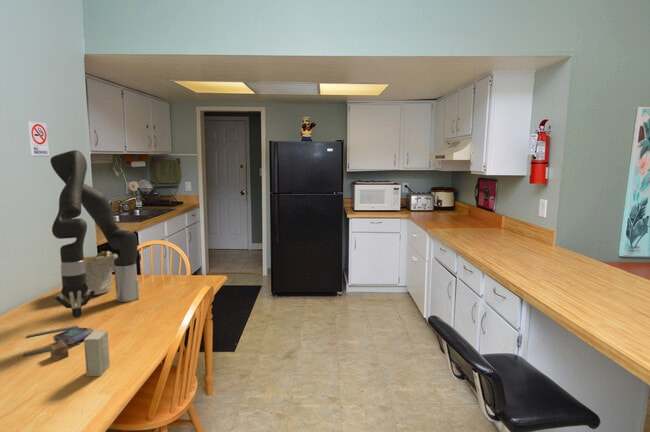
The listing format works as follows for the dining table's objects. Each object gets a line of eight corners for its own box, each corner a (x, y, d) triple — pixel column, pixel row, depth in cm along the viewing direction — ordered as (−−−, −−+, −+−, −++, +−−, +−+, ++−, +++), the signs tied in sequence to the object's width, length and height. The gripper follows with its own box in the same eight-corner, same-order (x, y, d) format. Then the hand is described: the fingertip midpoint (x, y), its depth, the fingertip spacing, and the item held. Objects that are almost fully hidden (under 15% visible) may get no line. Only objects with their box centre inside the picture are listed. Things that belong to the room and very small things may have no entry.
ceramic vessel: (42, 278, 188) (75, 235, 197) (88, 298, 204) (116, 257, 213) (57, 287, 173) (92, 240, 183) (105, 308, 189) (135, 263, 199)
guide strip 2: (79, 342, 139) (79, 341, 139) (79, 344, 138) (79, 342, 138) (23, 354, 130) (23, 353, 130) (23, 356, 129) (23, 355, 129)
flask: (94, 328, 144) (69, 340, 134) (94, 336, 145) (69, 348, 134) (73, 325, 146) (47, 336, 136) (74, 333, 147) (48, 344, 136)
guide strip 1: (77, 326, 153) (77, 325, 153) (77, 327, 152) (77, 326, 152) (27, 336, 144) (26, 335, 144) (26, 337, 143) (26, 336, 143)
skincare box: (96, 366, 123) (93, 330, 121) (110, 366, 123) (108, 330, 122) (85, 377, 117) (82, 339, 115) (101, 376, 117) (98, 338, 116)
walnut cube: (64, 352, 132) (63, 341, 131) (68, 356, 129) (67, 345, 129) (50, 357, 129) (49, 345, 128) (54, 361, 126) (53, 349, 126)
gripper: (93, 267, 149) (96, 310, 151) (51, 272, 142) (55, 317, 144) (95, 272, 143) (98, 316, 145) (51, 277, 135) (55, 324, 138)
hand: (77, 317), depth 144 cm, fingers closed
